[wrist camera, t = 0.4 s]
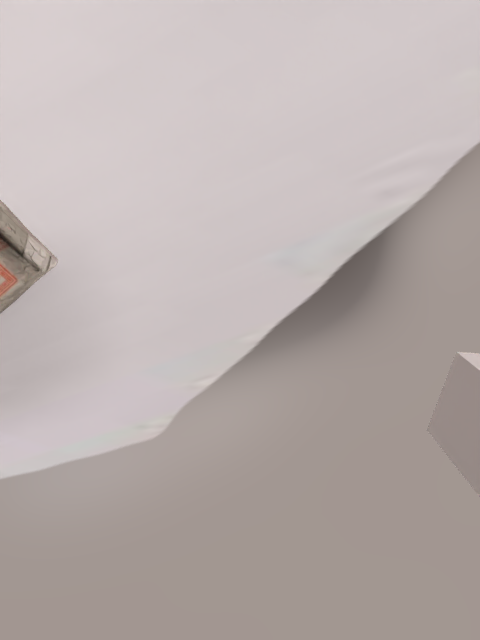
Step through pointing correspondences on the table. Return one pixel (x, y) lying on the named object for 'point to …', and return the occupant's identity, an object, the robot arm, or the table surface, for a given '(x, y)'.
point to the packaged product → (19, 258)
